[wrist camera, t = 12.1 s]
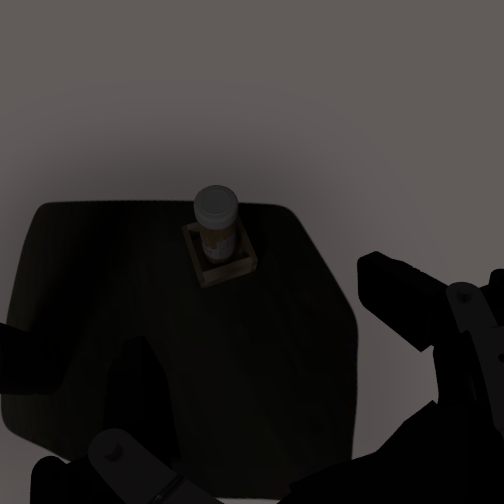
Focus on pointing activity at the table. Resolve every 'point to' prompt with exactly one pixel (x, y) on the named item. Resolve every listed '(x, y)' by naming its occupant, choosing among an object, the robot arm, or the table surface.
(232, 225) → the sprinkles bottle
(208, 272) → the oak socket block
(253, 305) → the table surface
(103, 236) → the table surface
